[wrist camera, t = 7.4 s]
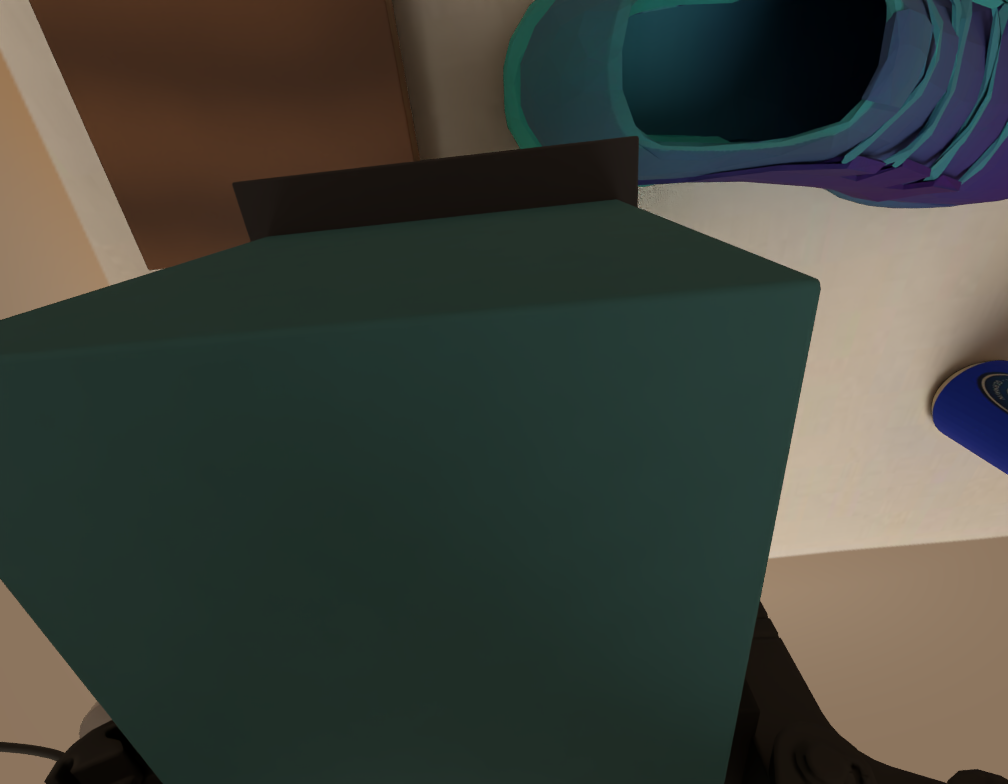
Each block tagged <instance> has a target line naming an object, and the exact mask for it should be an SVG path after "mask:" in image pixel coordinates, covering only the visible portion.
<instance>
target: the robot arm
mask: <svg viewBox="0 0 1008 784" xmlns="http://www.w3.org/2000/svg"><path fill="white" fill-rule="evenodd" d="M0 752H11V753H21V754H28V755H35V756H40V757H45V758H49V759H52V760H55V761H57V762H56V764H55V765H54V767H53V768H52V770H51V772H50V773H49V775H48V776H47V778H46V780H45V783H46V784H163V783H162V782H161V781H160V779H159V778H158V777H157V776H156V774H155V773H154V772H153V771H152V769H151V768H150V767H149V766H148V764H147V763H146V762H145V760H144V759H143V758H142V757H141V755H140V754H139V753H138V752H137V750H136V749H135V748H134V747H133V745H132V744H131V743H130V742H129V740H128V739H127V738H126V737H125V735H124V734H123V733H122V731H121V730H120V729H119V728H118V726H117V725H116V724H115V723H114V721H113V720H110V721H108V722H107V723H105V724H103V725H101V726H99V727H97V728H95V729H93V730H91V731H90V732H88V733H87V734H86V735H85V736H83V737H82V738H81V739H79V740H78V741H77V742H76V743H74V744H73V745H72V746H71V747H70V748H69V749H68V750H67V751H66V752H65V753H64V752H61V751H58V750H55V749H51V748H46V747H41V746H34V745H27V744H18V743H7V742H0ZM724 784H1008V780H1007V779H1005V778H1004V777H1002V776H1000V775H996V774H992V773H988V772H985V771H982V770H978V769H974V770H963V771H958V772H957V773H956V774H955V775H954V776H953V777H951V778H950V779H949V780H948V781H947V783H945V782H941V781H938V780H935V779H931V778H928V777H925V776H921V775H918V774H915V773H911V772H908V771H904V770H901V769H898V768H894V767H891V766H889V765H886V764H884V763H881V762H879V761H876V760H874V759H872V758H870V757H869V756H867V755H865V754H864V753H862V752H860V751H858V750H857V749H856V748H855V747H854V746H853V745H851V744H850V743H849V742H848V741H847V740H845V739H844V738H843V737H841V736H840V735H839V734H838V733H837V732H836V731H835V729H834V728H833V727H832V726H831V725H830V724H829V722H828V721H827V719H826V718H825V716H824V715H823V713H822V712H821V710H820V708H819V706H818V704H817V702H816V701H815V699H814V697H813V695H812V694H811V692H810V690H809V688H808V686H807V684H806V683H805V681H804V679H803V677H802V676H801V674H800V672H799V670H798V668H797V666H796V665H795V663H794V661H793V659H792V658H791V656H790V654H789V652H788V650H787V648H786V647H785V645H784V643H783V641H782V640H781V638H779V636H778V632H777V631H776V629H775V627H774V625H773V623H772V621H771V620H770V619H769V618H768V616H767V612H766V611H765V609H764V607H763V605H762V603H761V602H759V608H758V613H757V618H756V623H755V628H754V633H753V638H752V643H751V649H750V654H749V659H748V664H747V669H746V674H745V679H744V684H743V690H742V695H741V700H740V705H739V710H738V715H737V720H736V726H735V731H734V736H733V741H732V746H731V751H730V756H729V761H728V767H727V772H726V777H725V782H724Z"/></svg>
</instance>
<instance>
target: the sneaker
mask: <svg viewBox="0 0 1008 784" xmlns="http://www.w3.org/2000/svg"><path fill="white" fill-rule="evenodd" d="M503 81H504V107H505V115H506V121H507V126H508V129H509V130H510V132H511V134H512V135H513V137H514V139H515V141H516V142H517V144H518V146H519V147H520V149H525V148H534V147H543V146H551V145H560V144H569V143H577V142H586V141H595V140H603V139H612V138H621V137H629V136H638V137H639V160H638V186H640V187H646V186H650V185H654V184H668V183H684V182H756V183H769V184H782V185H794V186H807V187H816V188H823V189H826V190H827V191H829V192H831V193H832V194H834V195H836V196H837V197H839V198H842V199H846V200H849V201H853V202H856V203H859V204H864V205H868V206H877V207H887V208H934V207H950V206H957V205H964V204H973V203H982V202H992V201H999V200H1005V199H1008V0H535V1H534V2H533V3H532V4H531V5H529V7H528V9H527V11H526V12H525V14H524V16H523V18H522V19H521V21H520V23H519V24H518V26H517V28H516V30H515V31H514V33H513V35H512V37H511V38H510V42H509V46H508V50H507V54H506V58H505V62H504V67H503Z"/></svg>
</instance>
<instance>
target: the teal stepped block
mask: <svg viewBox="0 0 1008 784" xmlns="http://www.w3.org/2000/svg"><path fill="white" fill-rule="evenodd" d="M638 160H639V137H638V136H629V137H621V138H612V139H603V140H595V141H586V142H577V143H569V144H560V145H551V146H543V147H534V148H525V149H517V150H508V151H499V152H491V153H482V154H473V155H465V156H456V157H447V158H439V159H430V160H421V161H413V162H404V163H395V164H387V165H378V166H369V167H361V168H352V169H343V170H335V171H326V172H317V173H309V174H300V175H291V176H283V177H274V178H265V179H257V180H248V181H239V182H233V183H232V186H233V189H234V193H235V196H236V199H237V202H238V205H239V208H240V211H241V214H242V217H243V220H244V223H245V226H246V229H247V232H248V235H249V238H250V241H251V242H249V243H245V244H242V245H239V246H236V247H233V248H229V249H226V250H223V251H220V252H217V253H213V254H210V255H207V256H204V257H201V258H198V259H194V260H191V261H188V262H185V263H182V264H178V265H175V266H172V267H169V268H166V269H162V270H159V271H156V272H153V273H150V274H146V275H143V276H140V277H137V278H134V279H130V280H127V281H124V282H121V283H118V284H114V285H111V286H108V287H105V288H102V289H99V290H95V291H92V292H89V293H86V294H82V295H80V296H76V297H73V298H70V299H67V300H63V301H60V302H57V303H54V304H51V305H47V306H44V307H41V308H38V309H34V310H31V311H28V312H25V313H22V314H18V315H15V316H12V317H9V318H6V319H2V320H0V579H1V580H2V582H4V584H5V585H6V587H7V588H8V589H9V590H10V592H11V593H12V594H13V595H14V597H15V598H16V599H17V600H18V602H19V603H20V604H21V605H22V607H23V608H24V609H25V611H26V612H27V613H28V614H29V615H30V617H31V618H32V619H33V620H34V622H35V623H36V624H37V626H38V627H39V628H40V629H41V631H42V632H43V633H44V634H45V636H46V637H47V638H48V639H49V641H50V642H51V643H52V645H53V646H54V647H55V648H56V650H57V651H58V652H59V653H60V655H61V656H62V657H63V658H64V660H65V661H66V662H67V663H68V665H69V666H70V667H71V668H72V670H73V671H74V672H75V673H76V675H77V676H78V677H79V678H80V680H81V681H82V682H83V684H84V685H85V686H86V687H87V689H88V690H89V691H90V692H91V694H92V695H93V696H94V697H95V698H96V700H97V701H98V703H99V704H100V705H101V706H102V708H103V709H104V710H105V711H106V713H107V714H108V715H109V716H110V718H111V719H112V720H113V721H114V723H115V724H116V725H117V726H118V728H119V729H120V730H121V731H122V733H123V734H124V735H125V737H126V738H127V739H128V740H129V742H130V743H131V744H132V745H133V747H134V748H135V749H136V750H137V752H138V753H139V754H140V755H141V757H142V758H143V759H144V760H145V762H146V763H147V764H148V766H149V767H150V768H151V769H152V771H153V772H154V773H155V774H156V776H157V777H158V778H159V779H160V781H161V782H162V783H163V784H724V782H725V777H726V772H727V767H728V761H729V756H730V751H731V746H732V741H733V736H734V731H735V726H736V720H737V715H738V710H739V705H740V700H741V695H742V690H743V684H744V679H745V674H746V669H747V664H748V659H749V654H750V649H751V643H752V638H753V633H754V628H755V623H756V618H757V613H758V608H759V602H760V597H761V592H762V587H763V582H764V577H765V572H766V567H767V561H768V556H769V551H770V546H771V541H772V536H773V531H774V526H775V520H776V515H777V510H778V505H779V500H780V495H781V490H782V485H783V479H784V474H785V469H786V464H787V459H788V454H789V449H790V444H791V438H792V433H793V428H794V423H795V418H796V413H797V408H798V403H799V397H800V392H801V387H802V382H803V377H804V372H805V367H806V362H807V356H808V351H809V346H810V341H811V336H812V331H813V326H814V321H815V315H816V310H817V305H818V300H819V295H820V290H821V288H820V282H819V281H818V279H816V278H813V277H811V276H808V275H806V274H803V273H801V272H798V271H796V270H793V269H791V268H788V267H785V266H783V265H780V264H778V263H775V262H773V261H770V260H768V259H765V258H763V257H760V256H758V255H755V254H753V253H750V252H748V251H745V250H743V249H740V248H738V247H735V246H733V245H730V244H728V243H725V242H723V241H720V240H718V239H715V238H713V237H710V236H708V235H705V234H703V233H700V232H697V231H695V230H692V229H690V228H687V227H685V226H682V225H680V224H677V223H675V222H672V221H670V220H667V219H665V218H662V217H660V216H657V215H655V214H652V213H650V212H647V211H645V210H642V209H640V208H638Z"/></svg>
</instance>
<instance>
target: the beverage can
mask: <svg viewBox="0 0 1008 784" xmlns="http://www.w3.org/2000/svg"><path fill="white" fill-rule="evenodd" d="M932 416H933V421H934V424H935V426H936V427H937V429H938V430H939V431H940V432H942V433H943V434H945V435H946V436H948V437H949V438H951V439H952V440H954V441H956V442H957V443H959V444H960V445H962V446H963V447H965V448H967V449H968V450H970V451H971V452H973V453H974V454H976V455H978V456H979V457H981V458H982V459H984V460H986V461H987V462H989V463H990V464H992V465H993V466H995V467H997V468H998V469H1000V470H1001V471H1003V472H1004V473H1006V474H1008V361H1004V360H995V361H988V362H983V363H978V364H974V365H971V366H968V367H966V368H963V369H962V370H960V371H958V372H956V373H955V374H953V375H952V376H950V377H949V378H948V379H947V380H946V381H945V382H944V383H943V384H942V385H941V386H940V388H939V389H938V390H937V392H936V394H935V396H934V398H933V402H932Z"/></svg>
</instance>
